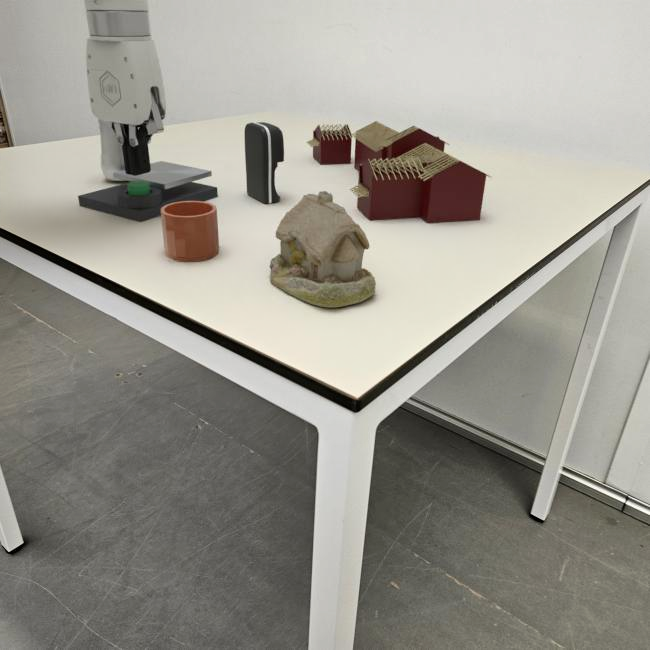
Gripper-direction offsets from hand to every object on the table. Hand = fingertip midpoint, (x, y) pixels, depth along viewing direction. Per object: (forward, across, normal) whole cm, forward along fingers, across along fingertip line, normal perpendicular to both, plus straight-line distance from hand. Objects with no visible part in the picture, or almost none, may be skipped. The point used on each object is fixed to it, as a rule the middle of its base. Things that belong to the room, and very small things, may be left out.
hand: (138, 172), depth 84 cm
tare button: (+3, 0, 0) cm, 3 cm away
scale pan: (+3, -4, +8) cm, 9 cm away
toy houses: (+6, +19, +37) cm, 42 cm away
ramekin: (+6, +16, -7) cm, 19 cm away
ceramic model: (+6, +34, -5) cm, 35 cm away
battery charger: (+6, +9, +17) cm, 20 cm away
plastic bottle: (+6, -17, +11) cm, 21 cm away
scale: (+6, -4, +5) cm, 8 cm away
